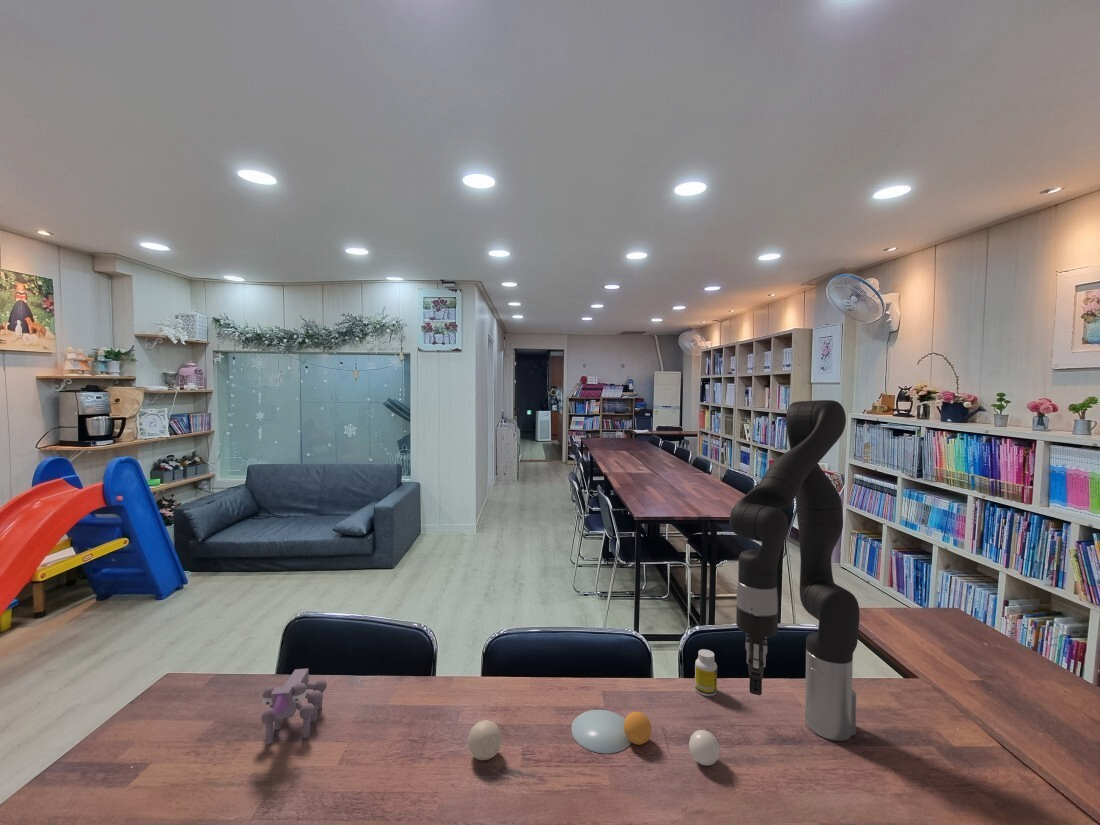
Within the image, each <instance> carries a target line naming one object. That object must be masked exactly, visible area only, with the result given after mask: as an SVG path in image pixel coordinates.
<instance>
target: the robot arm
mask: <svg viewBox="0 0 1100 825" xmlns="http://www.w3.org/2000/svg"><path fill="white" fill-rule="evenodd" d="M785 416H786V417H785V423H786V424H785V426H786V432H787V438H788V443H789V444H788V445H789V450H787V451H786V452H785V453H783V454H782V455H780V456H779V457H777V459H775V460H774V461H773V462H772V463H771V464H770V465H769V467H768V469H767V470H766V472H765V473H764V475H763V477H762V478H761V480H760V482H759V483H758V484H757V485H756V486H755V487H753V488H752V489H751V490H749V491H748V492H747V494H745V495H744V496H743V497H742V498H740V499H739V500H738V501H737V502H736V503H735V504H734V506H733V508H732V509H731V512H730V515H729V527H730V529H731V531H732V532H733V534H735V535H736V536H738V537H741V538H744V539H748V540H752V541H756V542H761V546H760V549H747V550H746V549H745V550H743V551H741V553H739V557H738V569H737V570H738V574H737V575H738V576H737V577H738V578H737V580H738V581H737V588H736V609H735V610H736V611H735V612H736V614H735V617H736V618H735V620H736V621H735V623H736V626H737V628H738V629H739V630H740V631H741V632H742V633H745V646H744V647H745V651H746V664H747V665H748V671H747V672H748V677H749V693H750V694H752V695H755V696H756V695H757V696H762V692H763V687H762V686H763V678H764V668H766V666H767V665H766V664H767V662H766V661H767V657H766V656H767V654H768V638H772V637H774V636H776V635H777V633H778V629H779V625H778V624H779V622H778V621H779V592H778V565H779V561H780V556H781V554H782V553H781V552H782V550H783V546H784V544H785V541H786V538H787V536H788V531H789V522H788V521H789V520H788V518H787V516H786V514H785V513H784V512H783V511H782V510H785V509H788V508H789V507H790V506H791V505H792V504H793V502H794V500H795V505H796V506H795V508H796V519H797V520H796V521H797V526H798V528H797V529H798V541H799V543H798V544H799V552H800V553H799V555H800V557H799V558H800V568H799V569H800V570H799V572H800V573H799V598H800V602H801V606H802V607H803V609H804V610H805V611H806V612H807V613H808V614H809V615H811V616H812V617H813V618H815V619H816V620H818V628H817V629H818V630H817V632H812V633H808V635H807V636H806V639H805V688H804V690H805V698H804V703H805V704H804V722H805V725H806V726H807V728H808V729H809V730H810V731H811V732H813V733H814V734H816V735H818V736H820V737H822V738H824V739H827V740H831V741H836V742H837V741H838V742H843V741H844V742H845V741H848V740H850V739H851V737H852V736H855V735H856V734H857V733H856V731H857V692H856V691H855V690H854V689H853V676H854V675H853V674H854V673H853V664H854V661H853V660H854V652H855V651H856V649H857V645H858V641H859V640H858V638H859V627H860V606H859V601H858V599H857V597H856V596H855V595H854V594H853V593H852V592H851V591H849V590H848V589H846V588H844V587H842V586H841V585H839V584H837V583H835V580H834V578H833V567H832V556H833V552H834V549H835V547H836V545H837V544H838V542H839V539H840V538H841V535H842V532H843V530H844V515H843V503H842V497H841V495H840V493H839V491H838V489H837V488H836V487H835V485H834V484H833V482H832V480H830V478H829V477H828V476H827V475H826V473H825V472H824V470H823V468H822V467H821V466H820V465H819V463H820V461H822V460H823V458H824V457H825V456H826V454H827V453H829V451H830V450H831V449H832V448H833V447H834V445H835V444H836V443H837V442H838V441H839V439H840V437H842V435H843V433H844V431H845V428H846V425H847V424H846V423H847V417H846V416H847V415H846V412H845V408H844V406H843V405H842V404H841V403H840V402H839V401H837V400H834V399H833V400H832V399H831V400H830V399H821V400H819V399H818V400H803V401H800V400H799V401H794V402H791V404H789V405H788V408H787V410H786V415H785Z"/></svg>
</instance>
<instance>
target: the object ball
mask: <svg viewBox="0 0 1100 825" xmlns="http://www.w3.org/2000/svg"><path fill="white" fill-rule="evenodd" d="M624 718H625V721H624V732H625V735H626V737H627V738H628V739H629V740H630V741H631V742H632V743H631V744H634V745H638V746H639V745H644V744H645V743H647V742H648V741H649V740H650V738H651V735H652V723H651V721H650V720H649V717H648V716H647V715H646V714H644V713H643V712H640V711H632V712H630V713H628V714H627V715H626V717H624Z"/></svg>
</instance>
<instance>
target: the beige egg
mask: <svg viewBox="0 0 1100 825" xmlns="http://www.w3.org/2000/svg"><path fill="white" fill-rule="evenodd" d="M467 739H468V740H467V741H468V749H469V751H470V753H471V755H472V757H473V758H475V759H476V760H478V761H488V760H490V759H492V758H494V757H495V756H496V755H497V754H498V752H499V751H500V748H501V745H502V734H501V731H500V728H499V726H498V725H497V724H496V723H495V722H494V721H493V720H492V721H491V720H487V719H485V720H480V721H478V722H476V723H475V724H474V725H473V726H472V727H471V729H470V731H469V734H468V738H467Z"/></svg>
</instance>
